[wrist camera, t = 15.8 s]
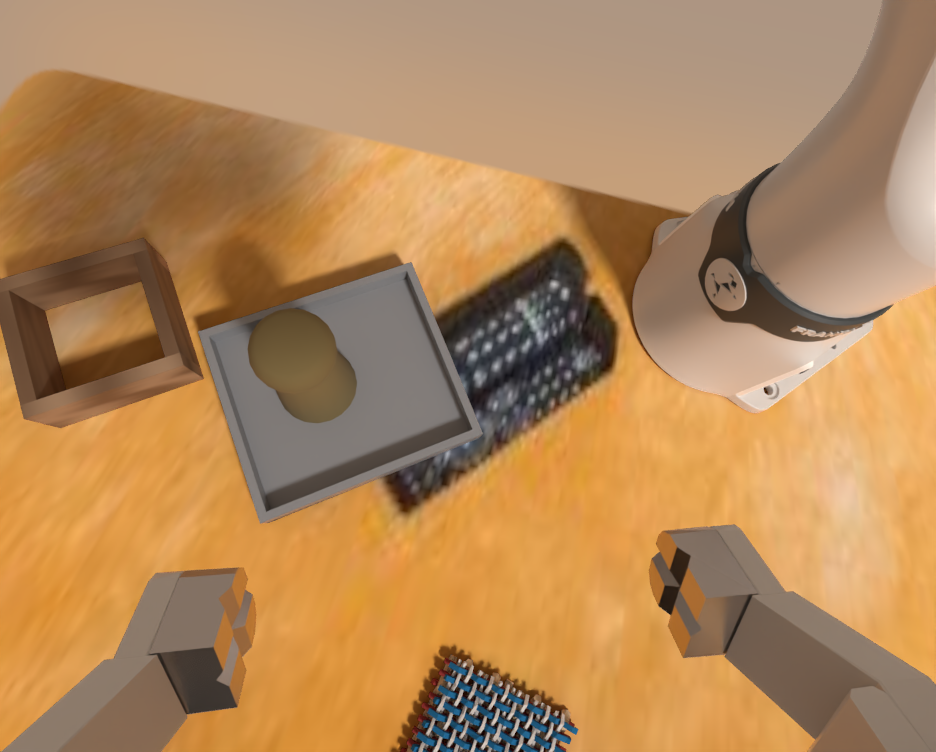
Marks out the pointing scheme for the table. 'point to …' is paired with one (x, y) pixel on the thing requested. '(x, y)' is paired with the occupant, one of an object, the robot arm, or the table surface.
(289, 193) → the table surface
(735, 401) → the robot arm
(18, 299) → the holder
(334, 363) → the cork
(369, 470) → the tray
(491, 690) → the woven mat
